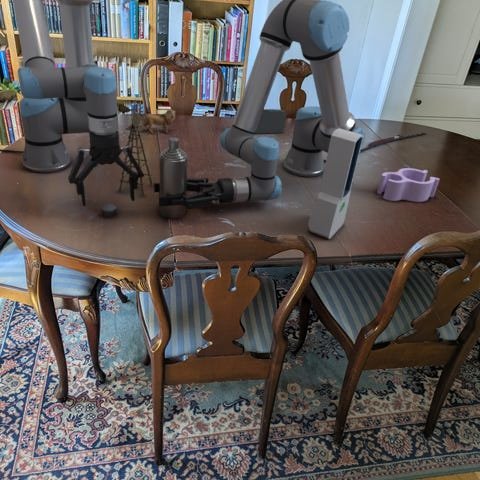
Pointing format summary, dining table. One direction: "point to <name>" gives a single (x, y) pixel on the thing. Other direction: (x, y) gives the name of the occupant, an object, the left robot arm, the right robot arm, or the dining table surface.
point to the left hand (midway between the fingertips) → (108, 201)
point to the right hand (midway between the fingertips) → (156, 194)
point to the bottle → (173, 177)
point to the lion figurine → (160, 120)
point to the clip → (407, 185)
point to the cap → (109, 210)
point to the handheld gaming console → (271, 121)
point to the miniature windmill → (134, 129)
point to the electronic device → (336, 183)
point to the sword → (386, 139)
